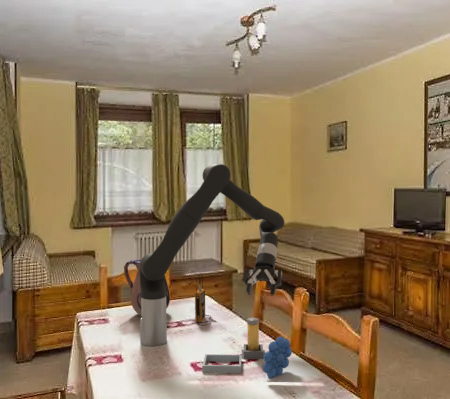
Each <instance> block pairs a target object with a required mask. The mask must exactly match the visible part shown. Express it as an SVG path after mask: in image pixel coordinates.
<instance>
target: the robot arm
mask: <svg viewBox="0 0 450 399" xmlns="http://www.w3.org/2000/svg"><path fill="white" fill-rule="evenodd" d="M202 180H203V182H202V184H200V187H198V189H197V191H196V192H195V193H194V194H192V196H190V197H189V198H188V199H187V200H186V201H185V202H184V203H183V204H182V205H181V206H180V208H179V209H178V210H177V211H176V213H175V214H174V216H173V218H172V219H171V220H170V222H169V224H168V227H167V229H166V230H165V231H166V232H165V234H164V237H163V238H162V241H161V242H160V243H159V245H158V246H157V248H156V249H154V251H153V252H150V253H147V254H145V255H144V256H143V257H142V258H141V259H142V260H141V259H140V260H141V262H140V288H141V307H142V316H141V318H140V320H139V329H140V330H139V333H140V335H139V337H140V342H139V343H140V345H144V346H148V347H157V346H162V345H165V344H166V343H167V341H168V338H167V337H168V334H167V332H168V330H167V326H168V325H167V324H168V322H167V309H166V288H165V282H164V275H165V276H166V274H167V272H168V270H169V269H170V267H171V264H172V263H173V261H174V259H175V257H176V256H177V254H178V253H179V251H180V250H181V248H182V247H183V246H184V245H185V243H186V242H187V241H188V239H189V238H190V236H191V235H192V234H193V232H194V231H195V230H196V229H197V227H198V225H199V224H200V222H201V220H202V219H203V218H204V216H205V214H206V213H207V212H208V210H209V208H210V207H211V205H212V203H213V202H214V200H215V199H216V198H217V197H218V195H220V194H221V195H223V196H225V197H226V198H227V199H229V200H230V201H231V202H233V203H234V204H235V205H236V206H238V207H239V208H240V209H241V210H242V211H243V212H244V213H246V214H247V215H248V216H249V217H250V218H251V219H252V220H254V221H259V220H261V221H260V222H259V225H258V226H259V227H258V228H259V235H260V241H259V247H258V249H257V253H256V259H255V264H254V269H250V268H249V267H247V268H246V269H245V272H244V275H243V276H244V277H243V282H244V285H246V293H247V295H248V296H251V295H252V291H253V285H255V284H257V282H258V281H259V282H268V281H269V282H270V283H271V285H270V290H269V291H270V296H271V297H274V295H275V294H276V291H277V287H281V286H282V284H283V271H282V269H281V268H278V269H276V263H277V262H276V261H277V255H278V252H277V251H278V244H279V243H278V242H279V237H278V235H277V234H276V232H277V231H280V230H281V229H283V227H284V226H285V219H284V217H283V216H282V214H280V213H279V212H278V211H276V210H274V209H272V208H270V207H267V206H265V205H264V204H263V203H262V202H261V201H260V200H258V199H257V198H256V197H255V196H253V195H252V194H250V193H249V192H247V191H245V190H244V189H242V188H241V187H240V186H238V185H237V184H235V183H234V182H233V181H232V180H231V170H230V168H229V167H228V166H227V165H225V164H223V163H222V164H221V163H214V164H210V165H207V166H205V168H204V169H203V171H202ZM275 269H276V270H275ZM275 275H276V276H277V277H276V278H277V280H276V281H275V280H274V276H275ZM250 277H251V278H250Z"/></svg>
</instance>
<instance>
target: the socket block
mask: <svg viewBox="0 0 450 399" xmlns="http://www.w3.org/2000/svg"><path fill="white" fill-rule="evenodd" d="M247 350H248V343H244V344H243V349H241V360H264V358H263V357H264V354H265V353H266V352H265V351H266V350H265V349H264V345H263V344H262V343H261V344H260V343H259V351H247Z"/></svg>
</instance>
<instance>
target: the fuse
mask: <svg viewBox="0 0 450 399" xmlns="http://www.w3.org/2000/svg"><path fill="white" fill-rule="evenodd" d="M246 323H247V344H248V350H247V351H259V344H260V338H259V334H260V332H259V330H260V328H259V327H260V326H259V325H260V319H259V318H257V317H248V318H247V319H246Z"/></svg>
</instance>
